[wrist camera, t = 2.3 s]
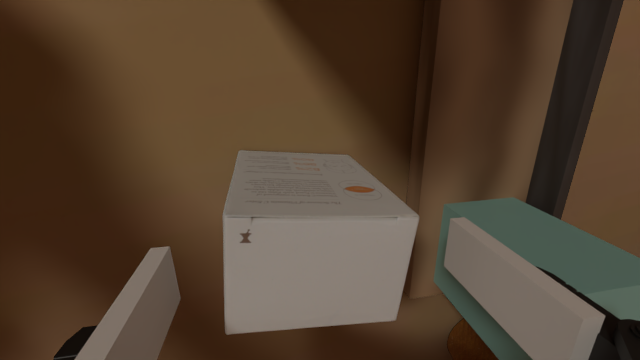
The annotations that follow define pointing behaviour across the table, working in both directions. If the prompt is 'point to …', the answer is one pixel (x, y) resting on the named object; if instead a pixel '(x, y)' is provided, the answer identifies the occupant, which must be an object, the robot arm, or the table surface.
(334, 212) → the small box
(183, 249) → the table surface
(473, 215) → the tea box
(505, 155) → the shelf board
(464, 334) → the disposable coffee cup
